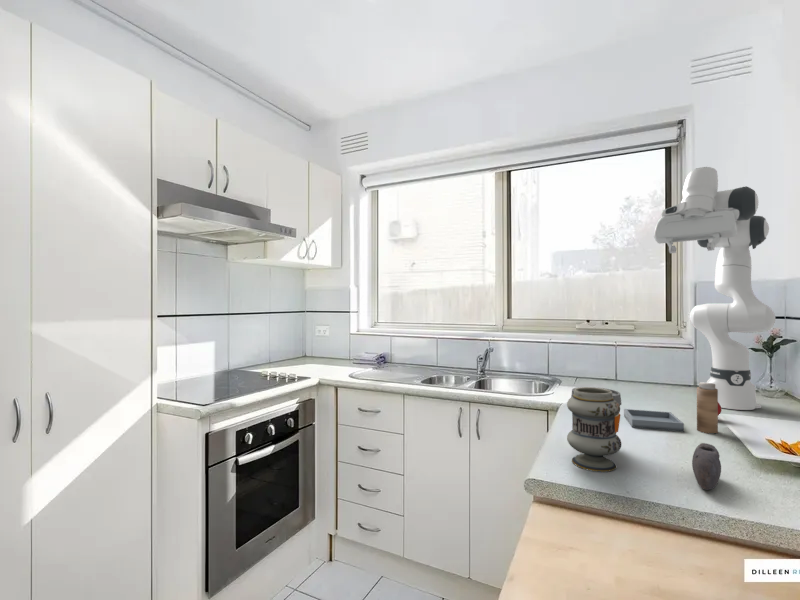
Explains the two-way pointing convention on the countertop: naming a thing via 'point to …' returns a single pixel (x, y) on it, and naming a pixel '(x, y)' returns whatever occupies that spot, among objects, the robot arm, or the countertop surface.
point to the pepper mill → (707, 408)
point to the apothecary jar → (593, 428)
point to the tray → (653, 420)
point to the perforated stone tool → (706, 466)
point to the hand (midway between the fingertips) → (690, 250)
